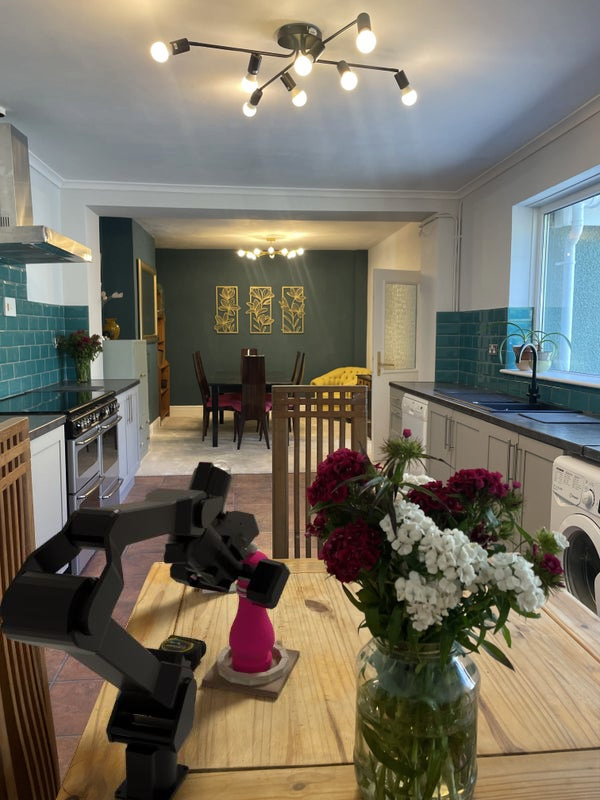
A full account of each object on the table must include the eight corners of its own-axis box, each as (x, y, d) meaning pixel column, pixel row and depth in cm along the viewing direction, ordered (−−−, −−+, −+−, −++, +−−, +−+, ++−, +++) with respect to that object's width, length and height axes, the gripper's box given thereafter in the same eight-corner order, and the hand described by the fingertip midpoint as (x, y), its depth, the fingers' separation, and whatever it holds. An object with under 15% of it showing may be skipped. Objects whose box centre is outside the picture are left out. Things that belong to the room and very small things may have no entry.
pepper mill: (253, 683, 88) (253, 554, 86) (219, 667, 93) (218, 543, 91) (284, 663, 94) (284, 541, 92) (250, 648, 99) (250, 531, 96)
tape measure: (208, 658, 98) (208, 637, 97) (187, 681, 91) (187, 657, 91) (172, 651, 100) (172, 630, 100) (149, 672, 93) (148, 650, 93)
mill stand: (277, 698, 86) (277, 684, 86) (201, 685, 90) (201, 671, 89) (299, 656, 98) (299, 643, 98) (231, 646, 101) (231, 634, 101)
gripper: (283, 508, 81) (322, 561, 92) (181, 490, 91) (227, 540, 101) (249, 583, 75) (294, 631, 86) (144, 555, 85) (196, 601, 96)
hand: (251, 596), depth 92 cm, fingers open, 9 cm apart
